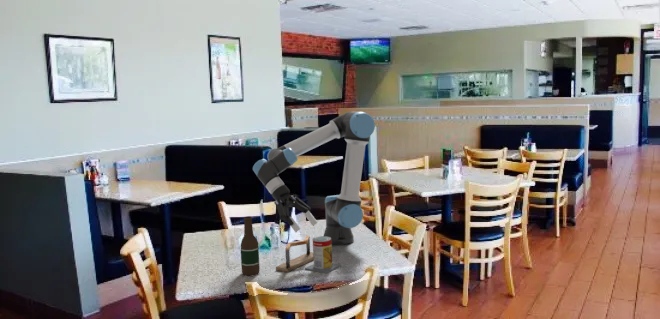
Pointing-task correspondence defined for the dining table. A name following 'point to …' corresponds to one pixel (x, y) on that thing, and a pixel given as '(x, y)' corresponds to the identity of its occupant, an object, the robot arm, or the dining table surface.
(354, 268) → the dining table surface
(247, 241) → the beer bottle
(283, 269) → the wooden frame rack
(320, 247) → the canned food
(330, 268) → the charcoal mat
